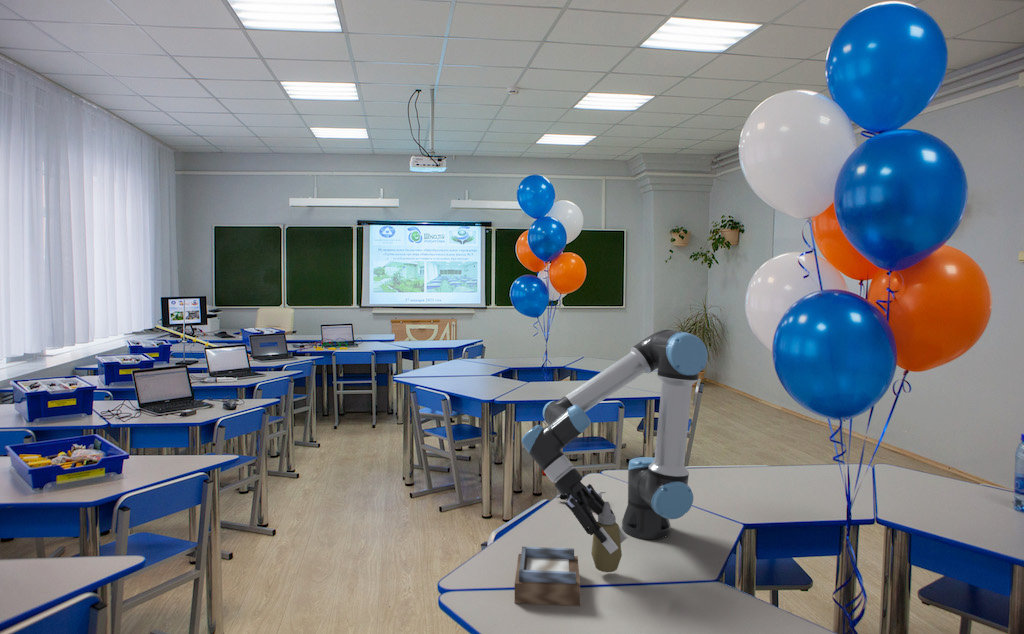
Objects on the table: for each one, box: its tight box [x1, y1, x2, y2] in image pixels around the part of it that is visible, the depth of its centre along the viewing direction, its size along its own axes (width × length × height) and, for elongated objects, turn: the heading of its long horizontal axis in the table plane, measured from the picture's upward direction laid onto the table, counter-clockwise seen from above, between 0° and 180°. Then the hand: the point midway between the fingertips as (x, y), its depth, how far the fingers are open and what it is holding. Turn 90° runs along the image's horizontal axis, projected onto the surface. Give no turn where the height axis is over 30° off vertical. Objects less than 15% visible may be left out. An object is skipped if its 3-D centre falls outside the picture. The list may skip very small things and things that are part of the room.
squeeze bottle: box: [591, 501, 623, 573], centre depth 160 cm, size 8×8×18 cm
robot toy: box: [555, 489, 607, 501], centre depth 213 cm, size 12×4×15 cm
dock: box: [514, 546, 581, 607], centre depth 153 cm, size 16×16×8 cm
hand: (619, 545), depth 158 cm, fingers closed on squeeze bottle, 6 cm apart
